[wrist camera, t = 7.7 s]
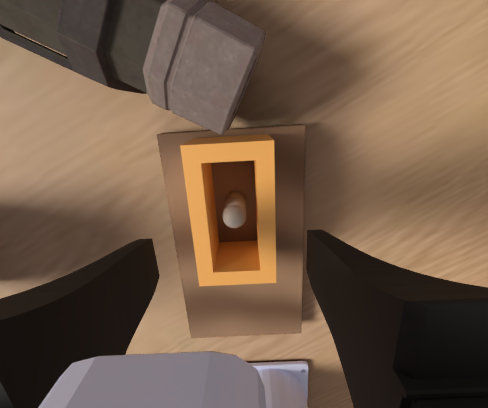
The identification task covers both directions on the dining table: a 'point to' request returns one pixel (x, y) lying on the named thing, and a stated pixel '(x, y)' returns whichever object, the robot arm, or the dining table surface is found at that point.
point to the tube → (147, 49)
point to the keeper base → (242, 236)
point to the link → (204, 210)
